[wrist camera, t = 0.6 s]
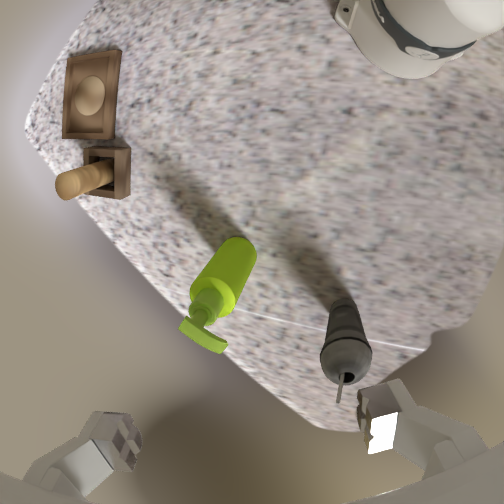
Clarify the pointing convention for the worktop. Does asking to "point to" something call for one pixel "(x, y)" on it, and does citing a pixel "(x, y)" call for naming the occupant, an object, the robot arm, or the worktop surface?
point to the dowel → (84, 179)
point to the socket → (120, 170)
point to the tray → (91, 95)
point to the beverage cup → (345, 346)
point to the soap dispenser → (218, 291)
